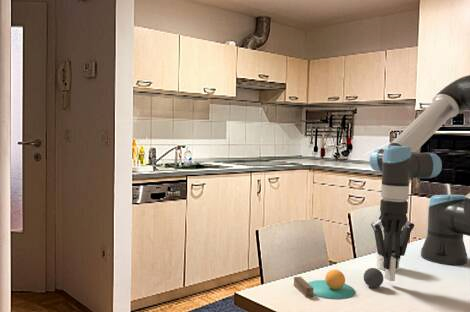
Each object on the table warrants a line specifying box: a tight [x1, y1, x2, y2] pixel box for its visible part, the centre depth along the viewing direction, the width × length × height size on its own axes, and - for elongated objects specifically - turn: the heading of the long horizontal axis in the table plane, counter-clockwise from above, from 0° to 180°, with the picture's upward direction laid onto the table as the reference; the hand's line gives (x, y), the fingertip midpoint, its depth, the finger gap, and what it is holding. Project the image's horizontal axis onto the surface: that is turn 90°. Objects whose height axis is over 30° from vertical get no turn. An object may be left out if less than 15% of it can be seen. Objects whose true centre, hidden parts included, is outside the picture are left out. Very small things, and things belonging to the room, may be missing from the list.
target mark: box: [307, 279, 356, 300], centre depth 128 cm, size 14×14×1 cm
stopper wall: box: [293, 276, 314, 298], centre depth 126 cm, size 2×9×2 cm, turn 14°
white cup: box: [376, 234, 401, 272], centre depth 149 cm, size 8×8×10 cm
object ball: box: [324, 269, 346, 290], centre depth 128 cm, size 6×6×6 cm
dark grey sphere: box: [363, 267, 384, 289], centre depth 131 cm, size 6×6×6 cm
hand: (389, 279), depth 132 cm, fingers closed
